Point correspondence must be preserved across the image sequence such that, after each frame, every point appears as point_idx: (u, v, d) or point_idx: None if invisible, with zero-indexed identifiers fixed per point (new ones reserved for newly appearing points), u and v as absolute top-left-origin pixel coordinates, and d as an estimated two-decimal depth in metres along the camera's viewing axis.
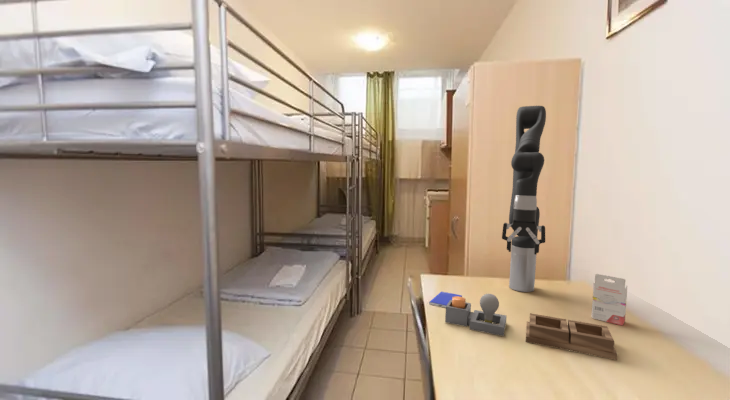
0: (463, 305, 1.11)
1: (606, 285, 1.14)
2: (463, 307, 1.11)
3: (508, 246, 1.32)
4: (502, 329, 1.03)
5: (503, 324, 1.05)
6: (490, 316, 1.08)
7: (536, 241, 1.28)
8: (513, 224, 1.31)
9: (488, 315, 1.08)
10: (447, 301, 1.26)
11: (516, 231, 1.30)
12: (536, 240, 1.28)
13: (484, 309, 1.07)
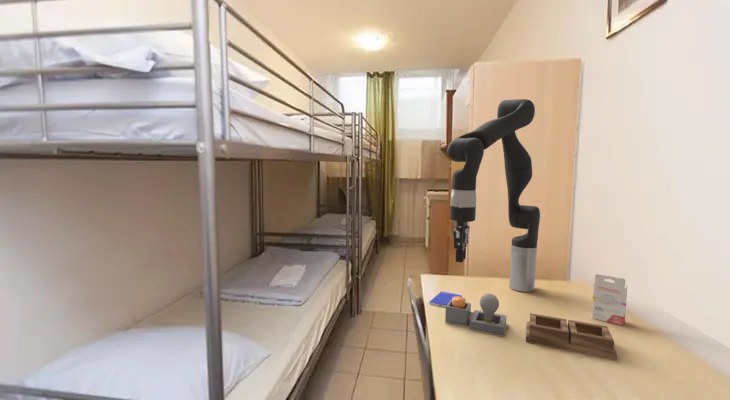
0: (463, 305, 1.11)
1: (606, 285, 1.14)
2: (463, 307, 1.11)
3: (461, 256, 1.09)
4: (502, 329, 1.03)
5: (503, 324, 1.05)
6: (490, 316, 1.08)
7: (466, 244, 1.12)
8: (463, 227, 1.07)
9: (488, 315, 1.08)
10: (447, 301, 1.27)
11: (466, 234, 1.08)
12: (466, 243, 1.12)
13: (484, 309, 1.07)
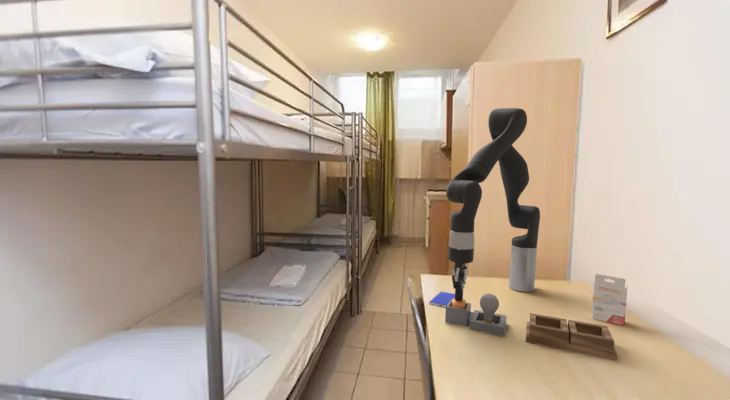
0: (463, 307, 1.11)
1: (606, 285, 1.14)
2: None
3: (461, 295, 1.11)
4: (502, 329, 1.03)
5: (503, 324, 1.05)
6: (490, 316, 1.08)
7: (463, 285, 1.12)
8: (461, 269, 1.08)
9: (488, 315, 1.08)
10: (447, 301, 1.27)
11: (464, 275, 1.10)
12: (463, 284, 1.12)
13: (484, 309, 1.07)
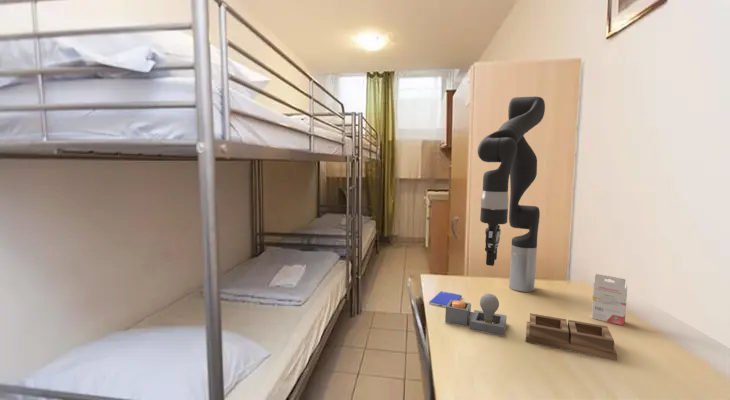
0: None
1: (606, 285, 1.14)
2: None
3: (492, 259, 1.03)
4: (502, 329, 1.03)
5: (503, 324, 1.05)
6: (490, 316, 1.08)
7: (497, 244, 1.10)
8: (495, 229, 1.03)
9: (488, 315, 1.08)
10: (447, 301, 1.27)
11: (498, 237, 1.04)
12: None
13: (484, 309, 1.07)
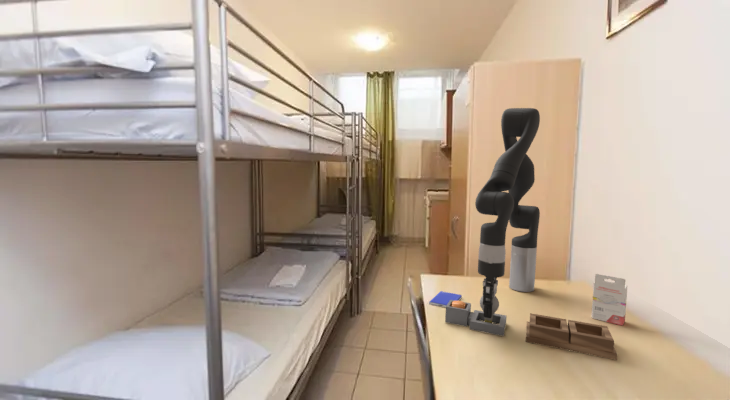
0: None
1: (606, 285, 1.14)
2: None
3: (490, 311, 1.05)
4: (502, 329, 1.03)
5: (503, 324, 1.05)
6: None
7: None
8: (493, 282, 1.04)
9: None
10: (447, 301, 1.27)
11: (495, 289, 1.06)
12: None
13: None
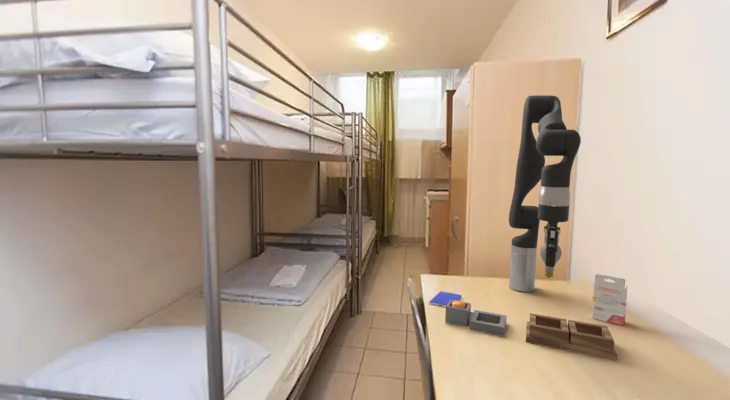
0: None
1: (606, 285, 1.14)
2: None
3: None
4: (502, 329, 1.03)
5: (503, 324, 1.05)
6: None
7: None
8: (557, 227, 0.96)
9: None
10: (447, 301, 1.27)
11: None
12: None
13: (545, 258, 0.99)
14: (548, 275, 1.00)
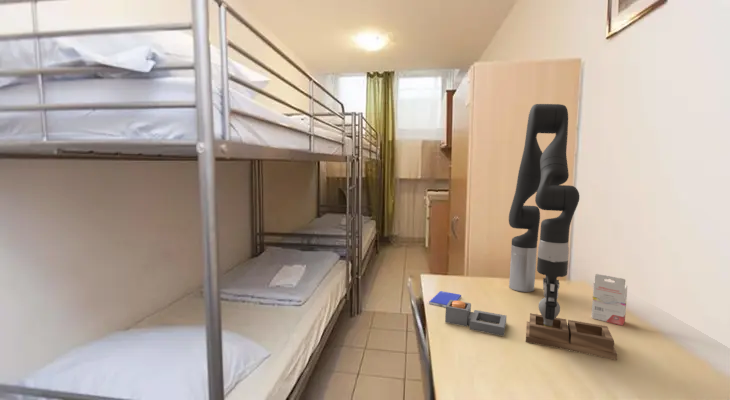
0: None
1: (606, 285, 1.14)
2: None
3: (553, 313, 0.97)
4: (502, 329, 1.03)
5: (503, 324, 1.05)
6: (550, 321, 1.01)
7: None
8: (556, 282, 0.98)
9: (548, 320, 1.01)
10: (447, 301, 1.27)
11: None
12: None
13: (544, 314, 1.01)
14: None
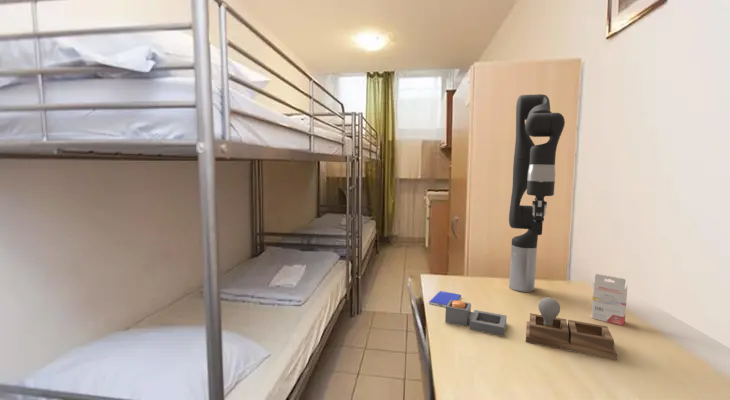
0: None
1: (606, 285, 1.14)
2: None
3: (540, 228, 1.07)
4: (502, 329, 1.03)
5: (503, 324, 1.05)
6: (550, 321, 1.01)
7: None
8: (543, 200, 1.07)
9: (548, 320, 1.01)
10: (447, 300, 1.27)
11: (545, 208, 1.08)
12: None
13: (544, 314, 1.01)
14: None
